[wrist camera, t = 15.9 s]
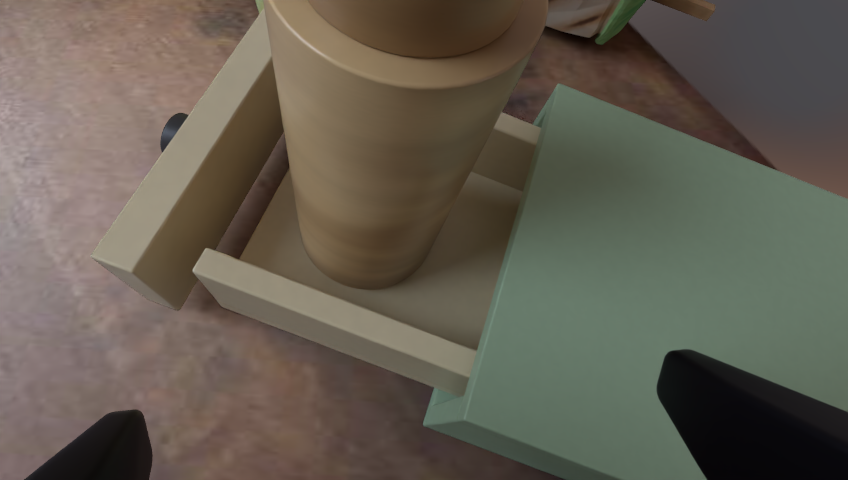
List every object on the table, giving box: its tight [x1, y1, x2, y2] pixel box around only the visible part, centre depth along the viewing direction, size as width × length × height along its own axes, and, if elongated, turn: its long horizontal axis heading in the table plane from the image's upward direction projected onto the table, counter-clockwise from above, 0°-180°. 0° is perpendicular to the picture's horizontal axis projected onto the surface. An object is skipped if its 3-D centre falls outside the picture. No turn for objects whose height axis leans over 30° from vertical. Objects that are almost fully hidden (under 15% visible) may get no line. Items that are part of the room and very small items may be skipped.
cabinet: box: [423, 83, 848, 480], centre depth 17 cm, size 15×11×6 cm
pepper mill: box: [263, 0, 548, 290], centre depth 11 cm, size 5×5×14 cm
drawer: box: [91, 9, 541, 397], centre depth 16 cm, size 16×10×4 cm, turn 71°
